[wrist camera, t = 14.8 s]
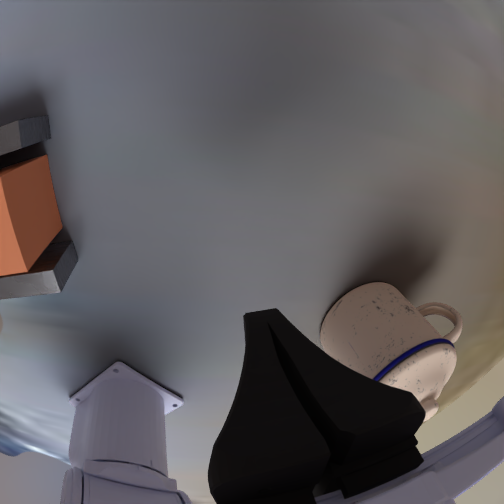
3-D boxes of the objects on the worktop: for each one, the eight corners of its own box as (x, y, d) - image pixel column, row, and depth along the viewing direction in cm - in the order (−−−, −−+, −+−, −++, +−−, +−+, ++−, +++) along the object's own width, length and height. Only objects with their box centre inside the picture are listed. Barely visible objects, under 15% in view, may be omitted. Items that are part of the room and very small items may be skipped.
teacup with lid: (328, 369, 29) (376, 463, 19) (304, 309, 25) (368, 425, 15) (425, 314, 29) (490, 387, 19) (421, 246, 25) (514, 322, 15)
